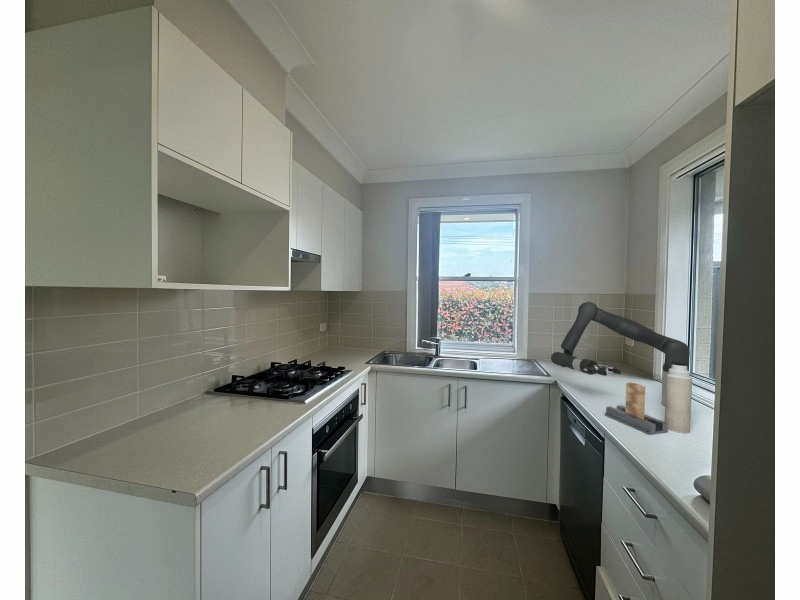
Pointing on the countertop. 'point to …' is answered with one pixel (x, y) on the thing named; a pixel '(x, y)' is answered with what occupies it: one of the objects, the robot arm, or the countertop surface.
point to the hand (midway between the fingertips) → (613, 372)
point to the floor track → (637, 421)
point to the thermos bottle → (678, 398)
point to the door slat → (635, 400)
